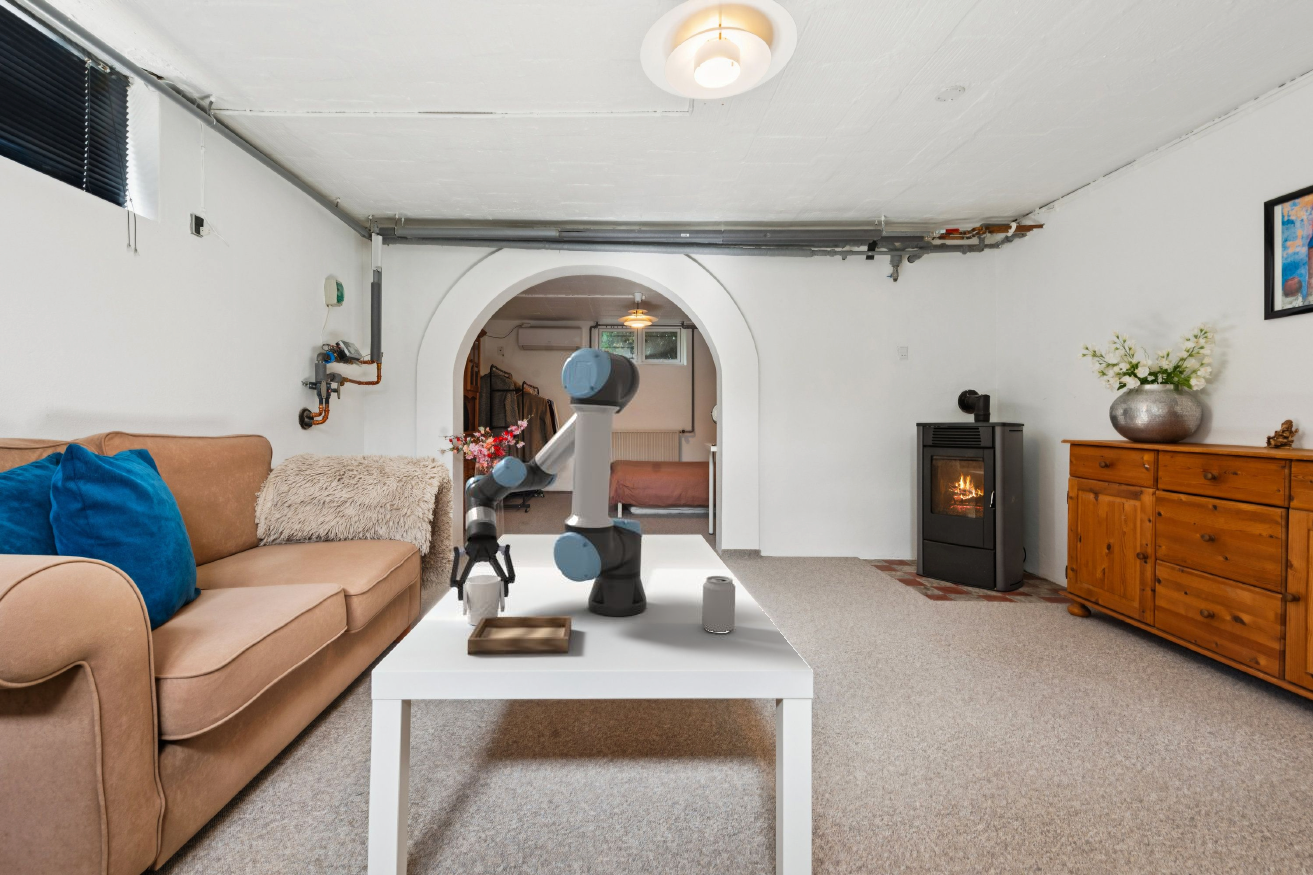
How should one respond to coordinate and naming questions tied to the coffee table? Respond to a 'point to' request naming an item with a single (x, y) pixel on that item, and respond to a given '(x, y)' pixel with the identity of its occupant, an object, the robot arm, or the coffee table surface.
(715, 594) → the can
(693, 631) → the coffee table surface
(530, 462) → the robot arm
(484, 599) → the white cup
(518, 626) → the walnut tray
